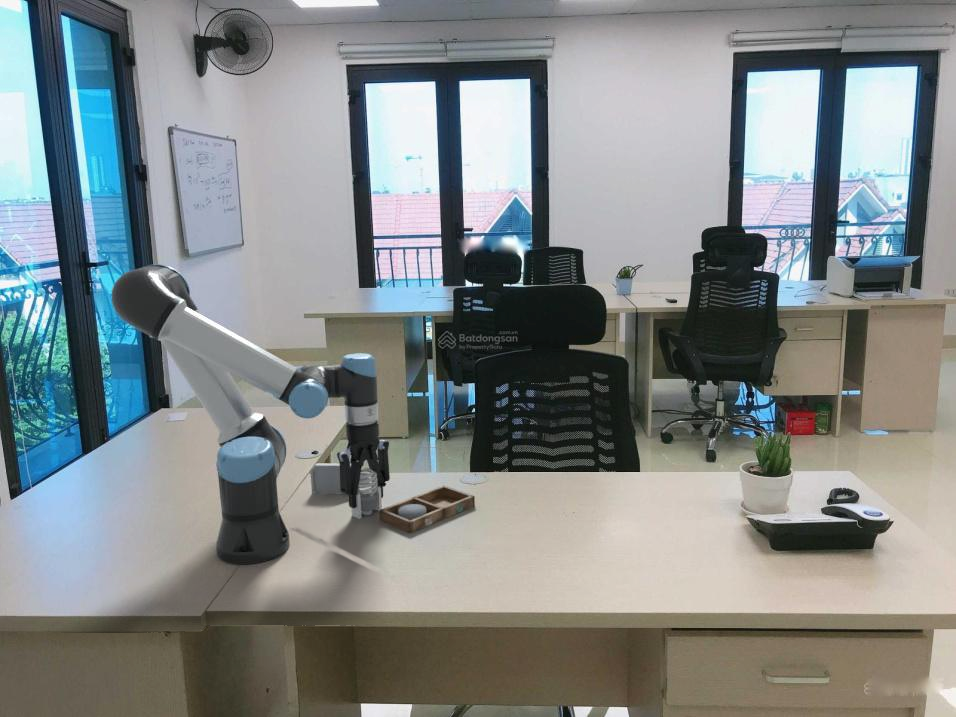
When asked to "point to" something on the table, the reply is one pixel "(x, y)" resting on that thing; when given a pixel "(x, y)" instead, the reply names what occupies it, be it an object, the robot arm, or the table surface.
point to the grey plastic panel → (326, 478)
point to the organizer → (429, 508)
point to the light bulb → (368, 498)
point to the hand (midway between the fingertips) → (367, 515)
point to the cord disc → (412, 511)
